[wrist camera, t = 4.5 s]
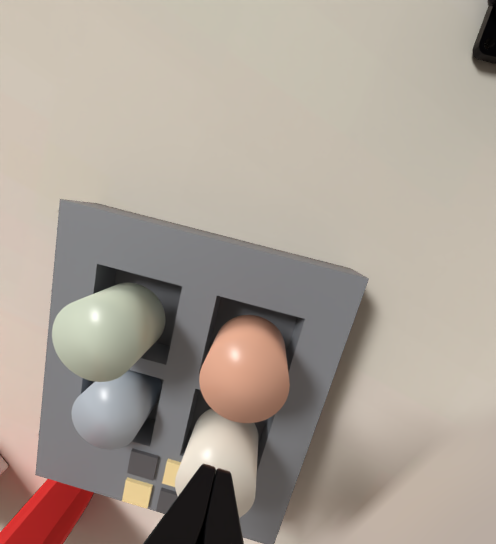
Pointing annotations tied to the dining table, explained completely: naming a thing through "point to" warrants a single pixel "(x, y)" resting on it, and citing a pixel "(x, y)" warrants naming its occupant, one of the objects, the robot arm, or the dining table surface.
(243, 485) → the ivory button
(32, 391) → the dining table surface
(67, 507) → the french fries
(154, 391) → the slate button
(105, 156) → the dining table surface
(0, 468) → the small box
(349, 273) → the button board
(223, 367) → the terracotta button
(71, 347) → the sage button
